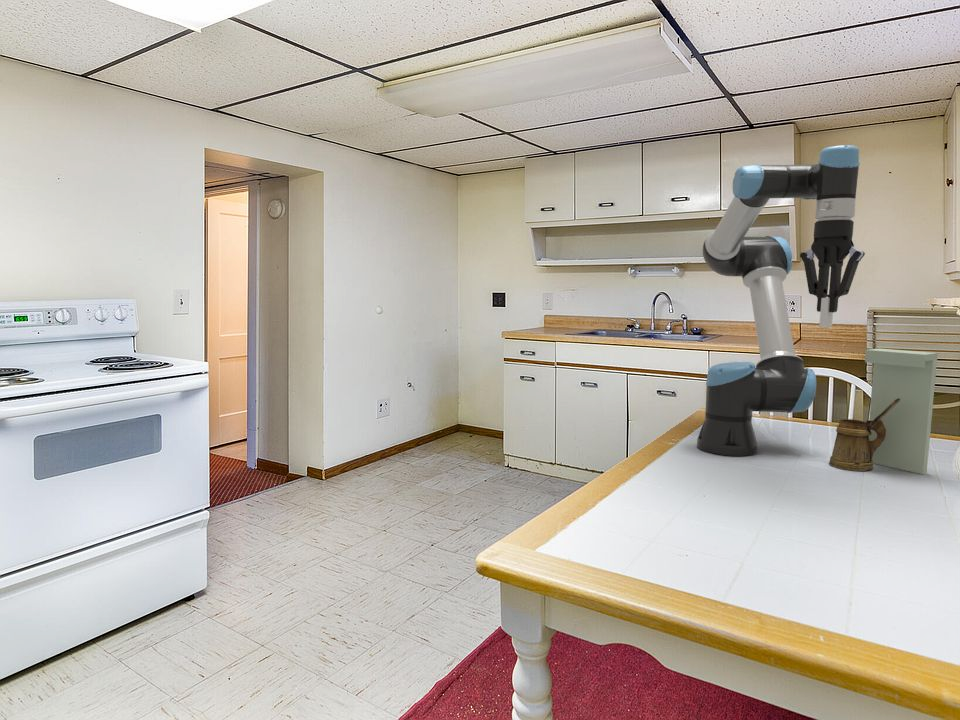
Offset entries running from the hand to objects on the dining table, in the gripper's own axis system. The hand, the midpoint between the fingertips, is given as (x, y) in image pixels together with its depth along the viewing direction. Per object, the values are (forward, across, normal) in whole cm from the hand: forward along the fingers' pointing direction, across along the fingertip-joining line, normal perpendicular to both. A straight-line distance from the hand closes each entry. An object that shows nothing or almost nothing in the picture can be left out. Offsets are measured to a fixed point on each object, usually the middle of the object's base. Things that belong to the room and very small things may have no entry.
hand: (825, 326), depth 139 cm
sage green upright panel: (+35, +9, +20) cm, 41 cm away
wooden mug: (+35, +4, +15) cm, 38 cm away
